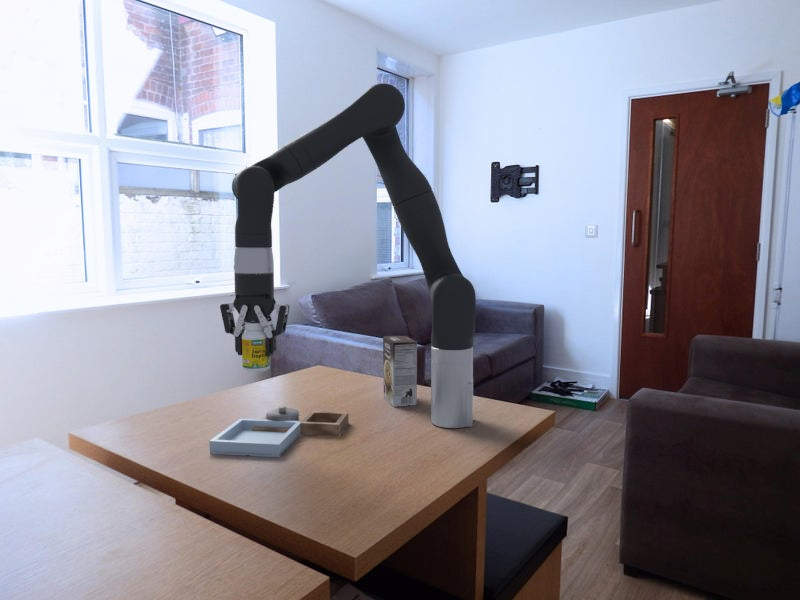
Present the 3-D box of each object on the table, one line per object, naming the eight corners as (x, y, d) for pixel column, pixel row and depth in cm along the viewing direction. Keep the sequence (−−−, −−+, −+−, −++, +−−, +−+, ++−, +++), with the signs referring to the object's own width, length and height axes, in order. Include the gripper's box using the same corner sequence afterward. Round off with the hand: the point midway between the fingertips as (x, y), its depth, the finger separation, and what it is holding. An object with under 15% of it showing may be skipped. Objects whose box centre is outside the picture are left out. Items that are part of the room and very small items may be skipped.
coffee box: (382, 397, 149) (382, 336, 147) (406, 395, 151) (406, 334, 149) (392, 407, 140) (392, 342, 138) (417, 405, 142) (417, 340, 140)
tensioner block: (349, 422, 129) (349, 403, 129) (338, 437, 119) (337, 416, 119) (269, 418, 132) (268, 400, 131) (252, 433, 122) (251, 413, 122)
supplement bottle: (261, 365, 119) (260, 319, 118) (275, 369, 115) (274, 322, 114) (237, 369, 116) (236, 321, 115) (250, 373, 112) (249, 324, 111)
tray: (302, 432, 122) (302, 421, 122) (279, 457, 109) (279, 444, 108) (240, 429, 125) (240, 418, 124) (209, 453, 111) (209, 441, 110)
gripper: (295, 270, 116) (296, 353, 118) (228, 269, 118) (230, 350, 120) (282, 272, 109) (283, 360, 110) (210, 271, 111) (213, 357, 113)
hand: (255, 354), depth 115 cm, fingers closed on supplement bottle, 5 cm apart
